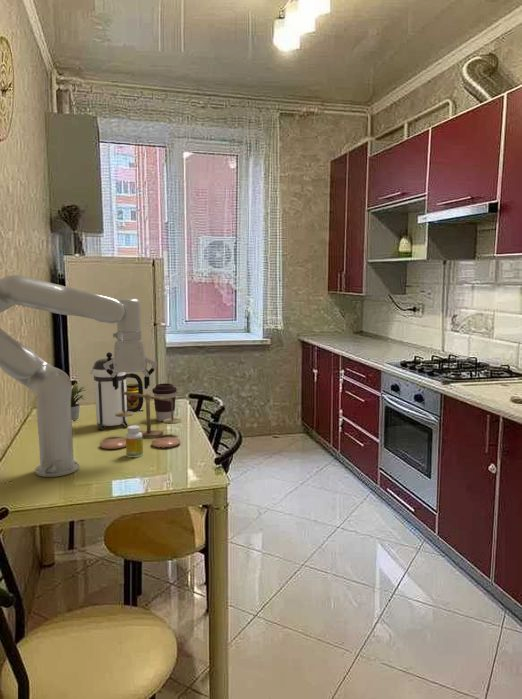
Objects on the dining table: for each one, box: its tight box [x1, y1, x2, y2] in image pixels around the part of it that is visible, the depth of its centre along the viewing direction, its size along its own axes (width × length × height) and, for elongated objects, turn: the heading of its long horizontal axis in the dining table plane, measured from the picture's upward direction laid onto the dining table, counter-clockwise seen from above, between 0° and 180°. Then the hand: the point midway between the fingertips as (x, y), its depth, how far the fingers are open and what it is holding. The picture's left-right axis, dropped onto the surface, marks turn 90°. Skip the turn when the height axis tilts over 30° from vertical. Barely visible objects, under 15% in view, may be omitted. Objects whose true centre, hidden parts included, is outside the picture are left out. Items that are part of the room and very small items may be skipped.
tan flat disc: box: [151, 436, 182, 449], centre depth 187 cm, size 10×10×1 cm
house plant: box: [71, 382, 89, 421], centre depth 221 cm, size 14×14×16 cm
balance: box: [115, 392, 182, 439], centre depth 197 cm, size 24×7×17 cm, turn 93°
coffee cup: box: [151, 382, 177, 422], centre depth 221 cm, size 10×10×15 cm
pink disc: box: [99, 437, 126, 450], centre depth 186 cm, size 10×10×1 cm
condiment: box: [126, 383, 139, 409], centre depth 239 cm, size 7×8×12 cm
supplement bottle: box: [125, 424, 144, 458], centre depth 175 cm, size 5×5×10 cm
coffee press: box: [89, 351, 144, 431], centre depth 211 cm, size 17×16×30 cm
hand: (131, 388), depth 173 cm, fingers open, 9 cm apart
